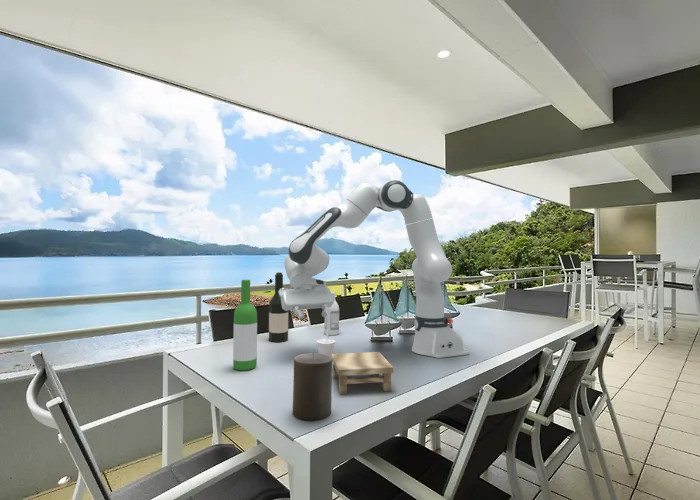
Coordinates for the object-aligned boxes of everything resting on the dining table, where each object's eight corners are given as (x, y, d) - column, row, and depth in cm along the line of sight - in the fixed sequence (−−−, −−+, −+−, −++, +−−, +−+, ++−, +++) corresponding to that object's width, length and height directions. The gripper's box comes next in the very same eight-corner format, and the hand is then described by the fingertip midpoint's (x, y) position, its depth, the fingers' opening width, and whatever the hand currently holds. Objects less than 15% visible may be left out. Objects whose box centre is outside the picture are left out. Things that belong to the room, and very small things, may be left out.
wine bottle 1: (257, 363, 132) (258, 278, 131) (255, 370, 124) (256, 281, 124) (234, 364, 130) (235, 279, 130) (231, 371, 123) (232, 281, 122)
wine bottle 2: (278, 337, 170) (279, 271, 170) (291, 340, 165) (292, 272, 165) (264, 340, 163) (265, 272, 163) (278, 343, 159) (278, 273, 158)
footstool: (378, 372, 123) (379, 351, 123) (393, 391, 108) (393, 367, 107) (330, 375, 120) (331, 353, 120) (338, 394, 105) (338, 370, 105)
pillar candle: (310, 425, 87) (312, 360, 87) (284, 412, 93) (286, 352, 93) (339, 412, 94) (340, 352, 94) (313, 401, 100) (314, 345, 100)
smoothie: (332, 373, 122) (333, 331, 122) (313, 371, 124) (314, 329, 123) (337, 367, 129) (337, 326, 128) (319, 365, 130) (319, 325, 130)
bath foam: (341, 333, 179) (342, 291, 179) (334, 336, 173) (335, 293, 173) (329, 331, 182) (329, 291, 182) (321, 334, 176) (322, 292, 176)
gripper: (279, 283, 136) (288, 314, 128) (329, 281, 146) (340, 309, 138) (275, 293, 140) (284, 324, 131) (323, 291, 150) (335, 319, 142)
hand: (313, 316), depth 135 cm, fingers open, 8 cm apart
